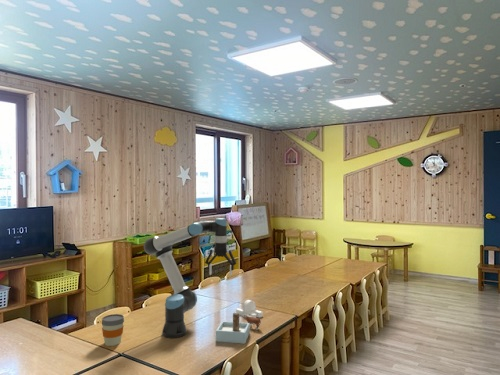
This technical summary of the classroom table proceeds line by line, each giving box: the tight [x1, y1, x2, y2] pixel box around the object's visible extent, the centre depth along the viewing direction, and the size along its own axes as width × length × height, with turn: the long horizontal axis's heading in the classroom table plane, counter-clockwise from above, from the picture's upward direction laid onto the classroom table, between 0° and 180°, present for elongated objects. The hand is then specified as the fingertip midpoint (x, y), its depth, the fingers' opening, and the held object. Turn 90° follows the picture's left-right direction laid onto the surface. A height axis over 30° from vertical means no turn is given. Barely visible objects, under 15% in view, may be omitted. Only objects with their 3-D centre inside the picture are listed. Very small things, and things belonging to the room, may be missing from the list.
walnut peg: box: [232, 312, 240, 332], centre depth 226 cm, size 4×4×15 cm
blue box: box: [215, 320, 250, 344], centre depth 227 cm, size 18×16×6 cm
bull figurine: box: [244, 314, 261, 331], centre depth 243 cm, size 4×13×8 cm, turn 51°
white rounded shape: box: [235, 299, 264, 319], centre depth 268 cm, size 18×10×11 cm, turn 45°
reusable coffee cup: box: [101, 313, 125, 347], centre depth 218 cm, size 13×13×15 cm
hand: (220, 275), depth 236 cm, fingers open, 13 cm apart
